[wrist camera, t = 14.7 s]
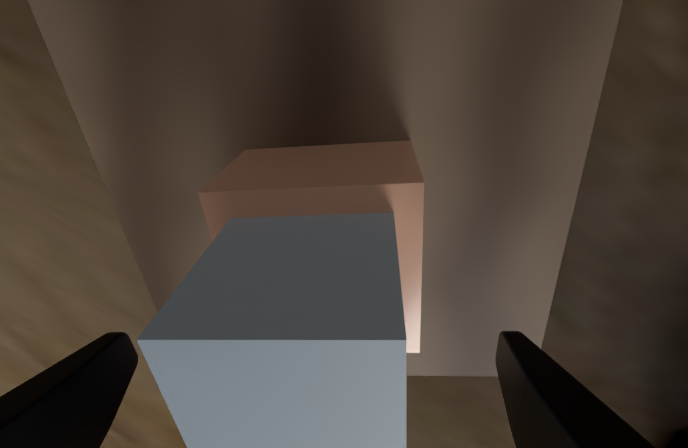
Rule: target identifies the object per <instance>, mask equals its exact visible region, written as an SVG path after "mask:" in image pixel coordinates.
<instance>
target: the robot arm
mask: <svg viewBox="0 0 688 448" xmlns="http://www.w3.org/2000/svg"><path fill="white" fill-rule="evenodd" d="M495 361H496V368H497V373H498V377H499V381H500V385H501V390H502V394H503V398H504V402H505V407H506V411H507V415H508V419H509V424H510V428H511V432H512V435H513V439H514V442H515V445H516V448H655V447H654V446H653V445H652V444H651V443H650V442H648V441H647V440H646V439H645V438H644V437H643V436H641V435H640V434H639V433H638V432H637V431H636V430H635V429H633V428H632V427H631V426H630V425H629V424H628V423H626V422H625V421H624V420H623V419H622V418H621V417H619V416H618V415H617V414H616V413H615V412H614V411H612V410H611V409H610V408H609V407H608V406H607V405H605V404H604V403H603V402H602V401H601V400H600V399H598V398H597V397H596V396H595V395H594V394H593V393H592V392H590V391H589V390H588V389H587V388H586V387H585V386H583V385H582V384H581V383H580V382H579V381H578V380H576V379H575V378H574V377H573V376H572V375H571V374H569V373H568V372H567V371H566V370H565V369H564V368H562V367H561V366H560V365H559V364H558V363H557V362H555V361H554V360H553V359H552V358H551V357H550V356H549V355H547V354H546V353H545V352H544V351H543V350H542V349H540V348H539V347H538V346H537V345H536V344H535V343H533V342H532V341H531V340H530V339H529V338H528V337H526V336H525V335H524V334H523V333H521V332H520V331H502V332H500V334H499V338H498V344H497V350H496V357H495ZM137 363H138V355H137V352H136V350H135V348H134V346H133V344H132V342H131V340H130V338H129V336H128V335H127V334H126V333H124V332H110V333H106V334H105V335H103V336H101V337H99V338H98V339H96V340H94V341H93V342H91V343H89V344H88V345H86V346H84V347H83V348H81V349H79V350H78V351H76V352H74V353H73V354H71V355H69V356H68V357H66V358H64V359H63V360H61V361H59V362H58V363H56V364H54V365H53V366H51V367H49V368H48V369H46V370H44V371H43V372H41V373H39V374H38V375H36V376H34V377H33V378H31V379H29V380H28V381H26V382H24V383H23V384H21V385H19V386H18V387H16V388H14V389H13V390H11V391H9V392H7V393H6V394H4V395H2V396H1V397H0V448H100V446H101V444H102V442H103V440H104V438H105V436H106V435H107V433H108V431H109V429H110V427H111V425H112V422H113V420H114V418H115V416H116V413H117V411H118V409H119V406H120V404H121V402H122V399H123V397H124V395H125V392H126V390H127V388H128V385H129V383H130V381H131V378H132V376H133V374H134V371H135V369H136V367H137ZM669 448H688V431H685V432H681V433H678V434H677V435H676V436H675V437H674V439H673V441H672V443H671V445H670V446H669Z"/></svg>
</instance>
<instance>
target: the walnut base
mask: <svg viewBox="0 0 688 448" xmlns="http://www.w3.org/2000/svg"><path fill="white" fill-rule="evenodd" d="M28 3H29V5H30V8H31V10H32V12H33V15H34V17H35V19H36V22H37V24H38V27H39V29H40V31H41V34H42V36H43V39H44V41H45V43H46V46H47V48H48V51H49V53H50V55H51V58H52V60H53V63H54V65H55V67H56V70H57V72H58V74H59V77H60V79H61V82H62V84H63V86H64V89H65V91H66V94H67V96H68V98H69V101H70V103H71V106H72V108H73V110H74V113H75V115H76V118H77V120H78V122H79V125H80V127H81V130H82V132H83V134H84V137H85V139H86V141H87V144H88V146H89V149H90V151H91V153H92V156H93V158H94V161H95V163H96V165H97V168H98V170H99V173H100V175H101V177H102V180H103V182H104V185H105V187H106V189H107V192H108V194H109V196H110V199H111V201H112V204H113V206H114V208H115V211H116V213H117V216H118V218H119V220H120V223H121V225H122V228H123V230H124V232H125V235H126V237H127V240H128V242H129V244H130V247H131V249H132V252H133V254H134V256H135V259H136V261H137V263H138V266H139V268H140V271H141V273H142V275H143V278H144V280H145V283H146V285H147V287H148V290H149V292H150V295H151V297H152V299H153V302H154V304H155V307H156V309H157V311H159V310H160V309H161V308H162V306H163V305H164V304H165V302H166V301H167V300H168V299H169V297H170V296H171V295H172V293H173V292H174V291H175V289H176V288H177V287H178V286H179V284H180V283H181V282H182V280H183V279H184V278H185V277H186V275H187V274H188V273H189V271H190V270H191V269H192V267H193V266H194V265H195V264H196V262H197V261H198V260H199V258H200V257H201V256H202V255H203V253H204V252H205V251H206V249H207V248H208V247H209V246H210V244H211V243H212V239H211V236H210V232H209V229H208V225H207V222H206V218H205V215H204V211H203V208H202V205H201V201H200V198H199V194H198V192H199V191H200V190H201V189H203V188H204V187H205V186H206V185H207V184H208V183H209V182H210V181H211V180H212V179H214V178H215V177H216V176H217V175H218V174H219V173H220V172H221V171H222V170H223V169H224V168H226V167H227V166H228V165H229V164H230V163H231V162H232V161H233V160H234V159H235V158H237V157H238V156H239V155H240V154H241V153H242V152H243V151H244V150H248V149H265V148H283V147H301V146H319V145H336V144H354V143H372V142H389V141H407V140H411V142H412V146H413V149H414V152H415V155H416V158H417V161H418V164H419V168H420V171H421V174H422V177H423V180H424V212H423V249H422V287H421V325H420V353H406V376H498V373H497V368H496V361H495V357H496V350H497V344H498V338H499V334H500V332H502V331H520V332H521V333H523V334H524V335H525V336H526V337H528V338H529V339H530V340H531V341H532V342H533V343H535V344H536V345H537V346H538V347H539V348H540V349H541V346H542V342H543V337H544V333H545V329H546V325H547V321H548V316H549V312H550V308H551V304H552V299H553V295H554V291H555V287H556V282H557V278H558V274H559V270H560V266H561V261H562V257H563V253H564V249H565V244H566V240H567V236H568V232H569V228H570V223H571V219H572V215H573V211H574V206H575V202H576V198H577V194H578V189H579V185H580V181H581V177H582V173H583V168H584V164H585V160H586V156H587V151H588V147H589V143H590V139H591V134H592V130H593V126H594V122H595V118H596V113H597V109H598V105H599V101H600V96H601V92H602V88H603V84H604V79H605V75H606V71H607V67H608V63H609V58H610V54H611V50H612V46H613V41H614V37H615V33H616V29H617V24H618V20H619V16H620V12H621V8H622V3H623V0H28Z"/></svg>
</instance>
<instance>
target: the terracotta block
mask: <svg viewBox="0 0 688 448" xmlns="http://www.w3.org/2000/svg"><path fill="white" fill-rule="evenodd" d="M198 194H199V198H200V201H201V205H202V208H203V211H204V215H205V218H206V222H207V225H208V229H209V232H210V236H211V239H212V242H213V240H214V239H215V238H216V236H217V235H218V234H219V233H220V231H221V230H222V229H223V227H224V226H225V225H226V224H227V222H228V221H229V220H230V218H250V217H277V216H305V215H333V214H361V213H389V212H394V219H395V229H396V239H397V249H398V259H399V269H400V279H401V290H402V300H403V310H404V320H405V330H406V340H407V345H406V353H420V325H421V287H422V249H423V212H424V180H423V177H422V174H421V171H420V168H419V164H418V161H417V158H416V155H415V152H414V149H413V146H412V142H411V140H407V141H389V142H372V143H354V144H336V145H319V146H301V147H283V148H265V149H248V150H244V151H243V152H242V153H241V154H240V155H239V156H238V157H237V158H235V159H234V160H233V161H232V162H231V163H230V164H229V165H228V166H227V167H226V168H224V169H223V170H222V171H221V172H220V173H219V174H218V175H217V176H216V177H215V178H214V179H212V180H211V181H210V182H209V183H208V184H207V185H206V186H205V187H204V188H203V189H201V190H200V191H199V192H198Z"/></svg>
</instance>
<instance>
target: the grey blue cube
mask: <svg viewBox="0 0 688 448" xmlns="http://www.w3.org/2000/svg"><path fill="white" fill-rule="evenodd" d="M137 342H138V344H139V346H140V348H141V350H142V353H143V355H144V357H145V359H146V361H147V363H148V365H149V367H150V370H151V372H152V374H153V376H154V378H155V380H156V382H157V384H158V387H159V389H160V391H161V393H162V395H163V397H164V399H165V401H166V404H167V406H168V408H169V410H170V412H171V414H172V416H173V418H174V421H175V423H176V425H177V427H178V429H179V431H180V433H181V435H182V438H183V440H184V442H185V444H186V446H187V448H406V345H407V340H406V330H405V320H404V310H403V300H402V290H401V279H400V269H399V259H398V249H397V239H396V229H395V219H394V212H389V213H361V214H333V215H305V216H277V217H250V218H230V220H229V221H228V222H227V224H226V225H225V226H224V227H223V229H222V230H221V231H220V233H219V234H218V235H217V236H216V238H215V239H214V240H213V242H212V243H211V244H210V246H209V247H208V248H207V249H206V251H205V252H204V253H203V255H202V256H201V257H200V258H199V260H198V261H197V262H196V264H195V265H194V266H193V267H192V269H191V270H190V271H189V273H188V274H187V275H186V277H185V278H184V279H183V280H182V282H181V283H180V284H179V286H178V287H177V288H176V289H175V291H174V292H173V293H172V295H171V296H170V297H169V299H168V300H167V301H166V302H165V304H164V305H163V306H162V308H161V309H160V310H159V311H158V313H157V314H156V315H155V317H154V318H153V319H152V321H151V322H150V323H149V324H148V326H147V327H146V328H145V330H144V331H143V332H142V333H141V335H140V336H139V337H138V339H137Z"/></svg>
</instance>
